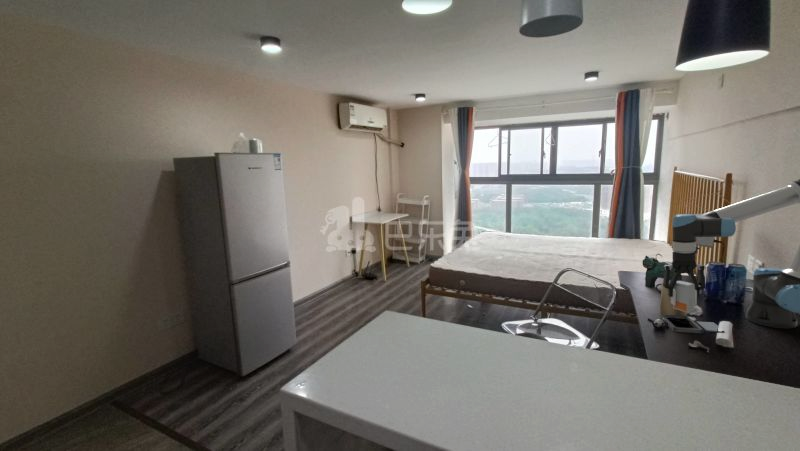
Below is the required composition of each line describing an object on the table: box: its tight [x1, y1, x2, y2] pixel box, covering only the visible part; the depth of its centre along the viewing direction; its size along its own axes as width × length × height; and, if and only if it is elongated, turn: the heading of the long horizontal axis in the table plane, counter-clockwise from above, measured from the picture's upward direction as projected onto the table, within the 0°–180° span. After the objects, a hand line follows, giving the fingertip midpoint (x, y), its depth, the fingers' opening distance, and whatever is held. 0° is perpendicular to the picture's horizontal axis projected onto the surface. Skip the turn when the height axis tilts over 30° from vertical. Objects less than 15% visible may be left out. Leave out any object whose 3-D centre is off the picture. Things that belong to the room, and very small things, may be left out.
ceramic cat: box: [642, 253, 683, 288], centre depth 194 cm, size 20×6×20 cm, turn 17°
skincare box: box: [673, 280, 695, 314], centre depth 149 cm, size 6×4×12 cm
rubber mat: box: [695, 320, 718, 333], centre depth 147 cm, size 6×9×1 cm, turn 161°
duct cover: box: [659, 282, 688, 316], centre depth 157 cm, size 10×15×1 cm
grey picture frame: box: [660, 314, 705, 334], centre depth 151 cm, size 10×15×2 cm, turn 161°
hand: (683, 304), depth 149 cm, fingers closed on skincare box, 7 cm apart
